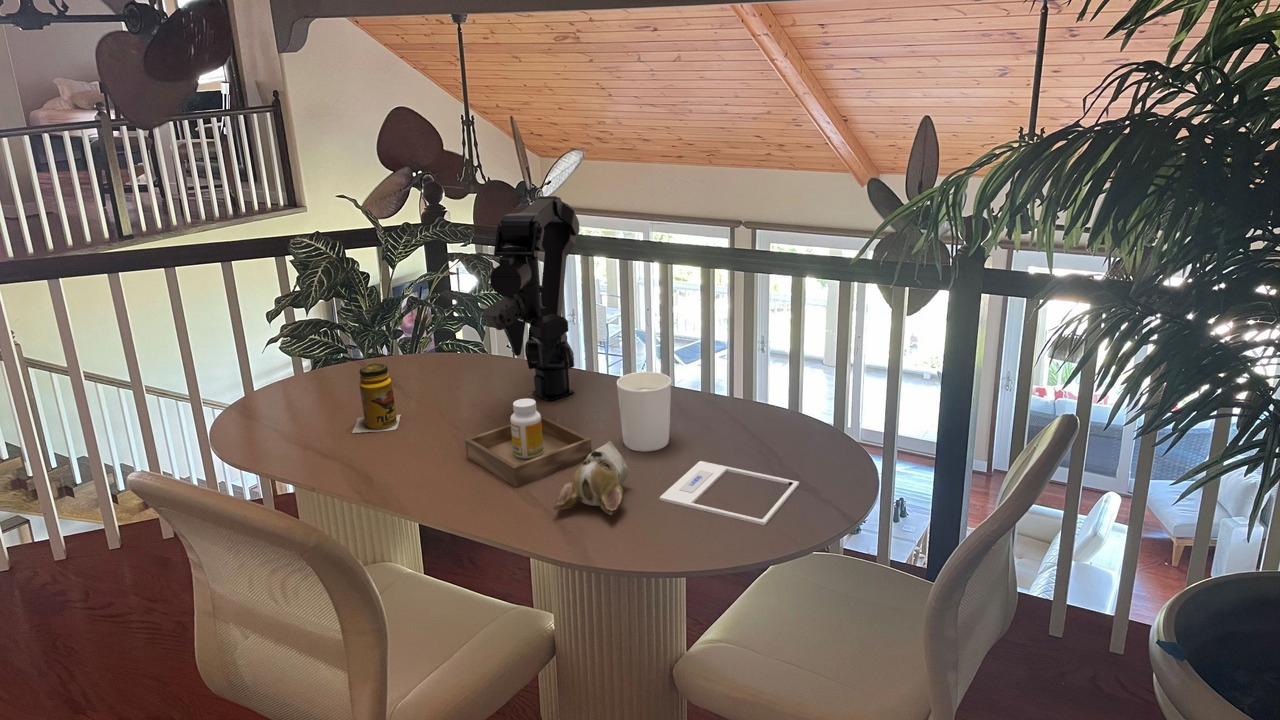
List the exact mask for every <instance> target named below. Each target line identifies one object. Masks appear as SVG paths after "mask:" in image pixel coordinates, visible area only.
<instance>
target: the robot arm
mask: <svg viewBox="0 0 1280 720" xmlns="http://www.w3.org/2000/svg"><path fill="white" fill-rule="evenodd" d="M579 232H580V222H579V218H578V216H577V215H576V212H575V211H574V210H573V209H572V208H570V206H568V205H566V204H565V203H563V201H562V199H561V197H560V196H559V197H558V196H557V195H540V196H537V197H534V199H533V202H532V203H531V204H528V206H527V207H526V208H524V210H522V211H521V212H518V213H508V214H504V215H503V216H502V217H501V218H500V221H498V224H497V229H496V236H495V243H494V249H493V256H494V257H500V258H499V260H498V264H499V265H497V266H496V267H495V268H494V269H493V270H492V271H491V274H490V278H489V281H490V282H489V283H490V286H491V287H492V289H493V291H494V292H495V293H496V294H498V295H500V296H501V297H502V298H500V299H498V300H497V301H495V302H493V303H492V304H490V305H489V306H488V307H486V308H484V309H483V311H482V314H483V316H484V318H485V321H486V323H487V325H488V327H489V328H494V329H495V330H497V331H502V330H504V333H505V335H506V337H507V340H508V342H509V344H510V347H511V349H512V352H513V354H514V356H516V357H518V356H521V353H522V348H523V342H524V336H525V329H526V324H528V325H529V327H528V338H527V340H526V342H525V346H524V351H525V357H526V362H527V366H528V370H533V369H534V376H533V380H534V381H533V382H534V390H532V395H535V396H537V397H539V398H540V399H543V400H546V401H548V402H552V401H555V400H558V399H560V398H561V399H562V398H564V397H567V396H571V395H573V394H575V391H574V390H573V389H571V388H570V378H569V369H572V368H574V367H575V357H574V354H575V353H574V351H573V349H572V347H571V346H570V344H569V342H568V335H567V333H568V332H569V321H568V319H567V318H565V317H564V316H562V314H563V303H564V302H563V301H564V291H565V289H564V288H565V281H566V280H565V277H566V270H567V268H566V267H567V257H568V256H569V255H570V253H571V252H572V250H573V249H574V248H575V246H576V244H577V243H576V241H577V236H579ZM542 249H543V251H544V254H543V256H544V257H543V267H542V277H541V279H542V280H541V281H540V265H539V257H538V256H539V255H538V254H539V252H541V250H542Z"/></svg>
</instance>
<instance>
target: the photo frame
mask: <svg viewBox="0 0 1280 720" xmlns="http://www.w3.org/2000/svg"><path fill="white" fill-rule="evenodd" d="M726 472H729V473H734V474H738V475H743V476H749V477H751V478H752V477H754V478H757V479H761V480H762V479H763V480H767V481H772V482H775V483H776V482H777V483H781V484H785V485H789V484H791V485H790V487H788V489H786V491H785V492H784V494H783V495H782V496H781V497H780V498H779V499H778V501H777V502H776V503H775V504H774V505H773V507H771V509H770V510H769V511H768V512H767V513H766V514H765V516H764V517H763V518H762V519H761V518H757V517H753V516H748V515H746V514H745V515H744V514H740V513H736V512H731V511H727V510H724V509H718V508H716V507H711V506H707V505H702V504H698V503H695V502H697V500H699V499H700V498H701V497H702V496H703V495H704V494H705V492H707V491H708V490H709V489H710V487H712V486H713V485H714V484H715V483H716V482H717V481H718V480H719V479H720V478H721V477H722V476H723V475H724V474H725V473H726ZM799 485H800V481H797V480H791V479H787V478H783V477H778V476H773V475H770V474H765V473H760V472H755V471H754V472H753V471H749V470H745V469H739V468H736V467H731V466H726V465H721V464H717V463H711V462H708V461H703V460H702V461H701V460H699V461H698V462H697V463H696V464H695V465H694V466H692V467H691V468H690V469H689V470H688V471H687V472H686V473H685V474H684V475H683V476H682V477H680V478H679V479H678V480H677V481H676V482H675V483H674V484H672V485H671V486H670V487H669V488H668V489H667V490H666V491H665V492H663V494H661V495H660V496H659V501H662V502H665V503H666V502H667V503H670V504H674V505H677V506H678V505H679V506H682V507H686V508H691V509H693V510H694V509H695V510H699V511H703V512H707V513H712V514H716V515H720V516H724V517H728V518H731V519H737V520H741V521H745V522H749V523H753V524H757V525H761V526H766V524H767V523H769V522H770V520H771V519H772V517H773V516H774V515H775V514H776V513H777V512H778V510H779V509H780V508H781V507H782V506H783V504H784V503H785V502H786V501H787V500H788V498H789V497H791V495H792V494H793V492H794V491H796V489H797V488H798V487H799Z"/></svg>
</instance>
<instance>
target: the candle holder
mask: <svg viewBox="0 0 1280 720" xmlns="http://www.w3.org/2000/svg"><path fill="white" fill-rule="evenodd" d="M672 383H673V382H672V378H671V377H670V376H669V375H666V374H665V373H662V372H657V371H637V372H632V373H631V372H630V373H627V374H624V375H622V376H620V377H619V378H618V379H617V380H616V387H617V395H618V404H619V414H620V422H621V423H620V424H621V430H622V431H621V432H622V441H623V444H624V446H625V447H626V448H628V449H629V450H632V451H636V452H654V451H658V450H661V449H663V448H665V447H666V446H667V445H668V444H669V442H670V427H671V424H670V423H671V400H672V399H671V397H672Z"/></svg>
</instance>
